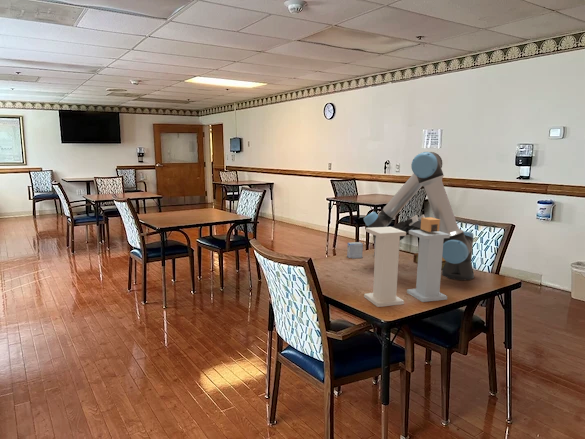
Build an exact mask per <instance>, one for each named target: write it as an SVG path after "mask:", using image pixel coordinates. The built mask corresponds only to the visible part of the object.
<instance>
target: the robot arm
mask: <svg viewBox="0 0 585 439" xmlns="http://www.w3.org/2000/svg"><path fill="white" fill-rule="evenodd" d="M410 167H411V171H412V175H411V176H410V177H409V178H408V179H407V181H406V182H405V183H404V184H402V186H401V187H400V188H399V189H398V191H397V192H396V193H395V194H394V195H393V196H392V198H391V199H389V201H388V202H387V203H386V205H385V206H384V207H383V208H382V209H381V211H380V212H378V213H377V212H376V211H372V212H370V213H368V214H367V215H366V216H365V217H363V222H364V223H365V226H367V227H366V228H373V227H386V226H387V227H389V225H391V223H392V222H393V220H394V218H395V217H396V216H397V215H398V214H399V213H400V211H401V210H402V209H403V208H404V207H406V205H407V204H408V203H409V202H410V200H411V199H412V198H413V197H414V196H415V195H416V194H417V193H418V191H419V190H420V189H421V188H422V187H423V189H424V192H425V193H426V197H427V200H428V202H429V205H430V208H431V211H432V212H431V213H432V214H433V216H434V217H433V218H436V219H440V226H439V231H440V232H444V233H447V234H450V238H444V241H443V254H442V257H443V258H444V259H445V260H446V262H445V265H444V267H443V269H442V270H441V276H443V277H445V278H448V279H450V280H451V279H452V280H456V281H469V280H470V279H471V280H472V279H475V272H474V267H473V264H472V256H473V244H474V239H475V238H474V233H473V232H471V231H466V230H465V231H464V230H462V229H461V228H459V226H458V224H457V223H458V222H457V221H456V220H457V219H456V218H455V214H454V212H453V209H452V206H451V202H450V200H449V197H448V194H447V190H446V188H445V186H444V182H443V178H444V176H445V175H444V172H443V169H442V168H443V160H442V157H441V156H440V154H438V153H436V152H433V151H423V152H420V153H418V154H417V155H415V156H414V158H413V159H412V161H411V166H410ZM421 218H426V216H425V214H421V215H420V216H418V215H417V214H414V215H413V216H412V218H410V219H409V220H408V219H407V220H401V221H400V222H398V223H396V224H394V225H393V226H392V227H393V228H396V229H399V230H402V231H405V232H406V234H407V233H408V234H409V230H419V228H418V227H415V226H412V224H414V223H415V222H417V221H418V219H421ZM373 237H374V243H375V242H376V236H375V235H373ZM405 237H406V236H400V241H401V240H403V239H404V238H405Z"/></svg>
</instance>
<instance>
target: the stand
mask: <svg viewBox="0 0 585 439" xmlns="http://www.w3.org/2000/svg"><path fill="white" fill-rule="evenodd" d="M365 232H367V233H369V234H371V235H373V236H374V235H375V236H376V242H375V241H374V250H375V251H374V252H375V256H374V264H373V265H374V266H373V284H372V285H373V287H372V292H368V293H363V294H364V295H363V297H364V299H366V300H367V301H369V302H370V303H372V304H373V305H374V306H375V307H377V308H380V307H389V306H401V305H404V304H405V301H404V299H402V298H401V297H399V296H398V295H397V293H398V292H397V290H398V276H399V275H398V274H399V273H398V272H399V258H400V256H399V255H400V241H401V240H400V236H405V237H406V236H407V233H406V232H405V231H402V230H399V229H396V228H393V226H387V227H373V228H368V227H365Z"/></svg>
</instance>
